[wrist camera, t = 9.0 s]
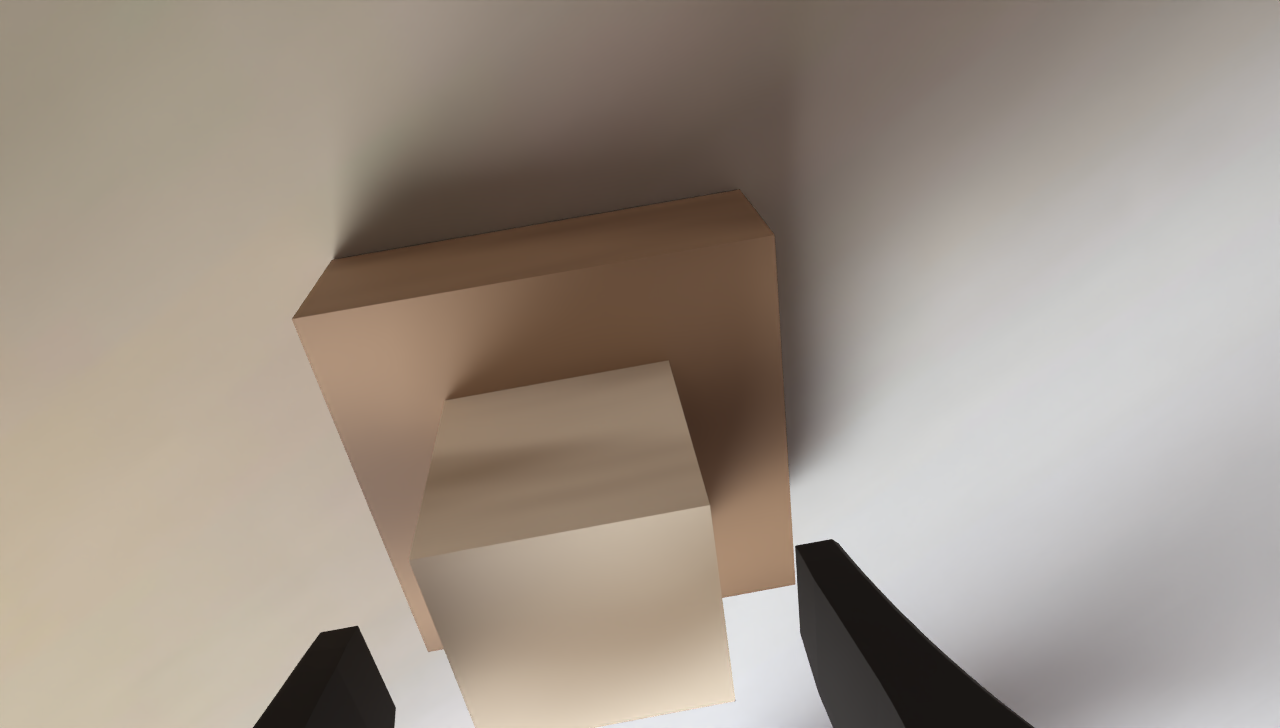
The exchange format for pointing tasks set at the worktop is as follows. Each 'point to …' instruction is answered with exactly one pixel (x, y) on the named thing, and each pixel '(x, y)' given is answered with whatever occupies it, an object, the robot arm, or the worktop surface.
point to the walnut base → (566, 355)
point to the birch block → (573, 554)
